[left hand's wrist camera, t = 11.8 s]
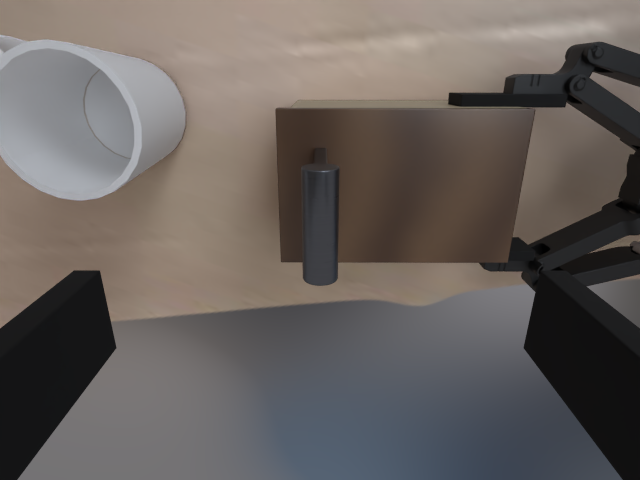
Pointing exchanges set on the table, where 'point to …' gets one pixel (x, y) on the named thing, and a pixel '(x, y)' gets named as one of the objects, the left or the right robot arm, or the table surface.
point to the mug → (83, 116)
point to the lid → (398, 185)
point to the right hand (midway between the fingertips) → (445, 179)
